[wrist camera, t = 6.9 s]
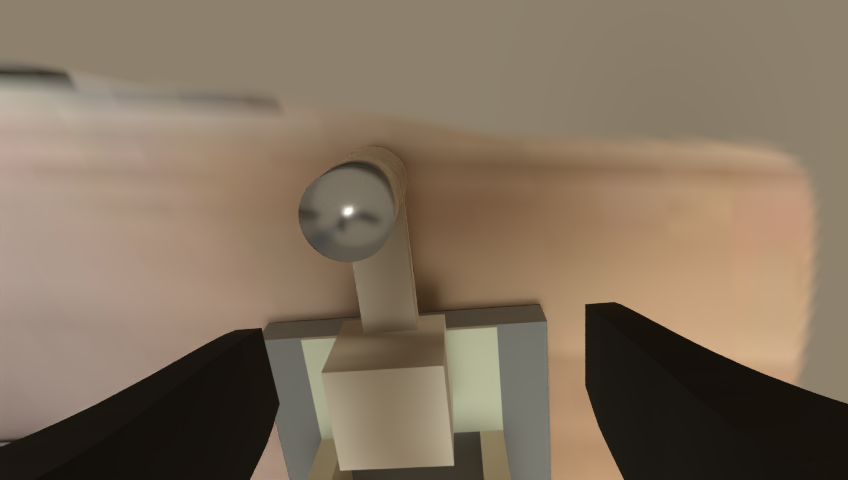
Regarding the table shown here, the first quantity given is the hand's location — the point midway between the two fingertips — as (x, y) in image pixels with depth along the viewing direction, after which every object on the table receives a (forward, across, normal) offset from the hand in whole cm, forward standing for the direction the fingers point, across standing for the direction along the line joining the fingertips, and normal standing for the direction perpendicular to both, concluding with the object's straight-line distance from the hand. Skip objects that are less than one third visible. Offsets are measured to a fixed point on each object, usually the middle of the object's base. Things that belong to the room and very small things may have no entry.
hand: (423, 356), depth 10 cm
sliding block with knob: (+7, +2, +1) cm, 8 cm away
